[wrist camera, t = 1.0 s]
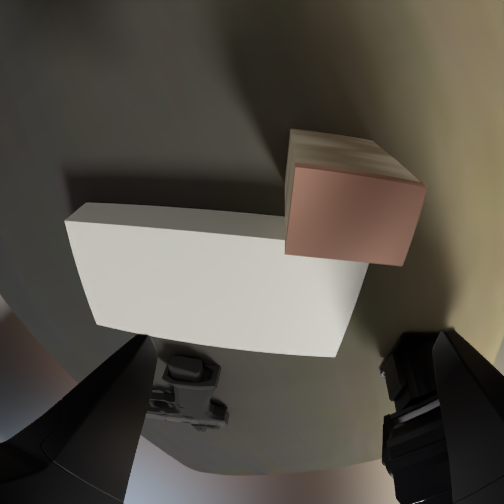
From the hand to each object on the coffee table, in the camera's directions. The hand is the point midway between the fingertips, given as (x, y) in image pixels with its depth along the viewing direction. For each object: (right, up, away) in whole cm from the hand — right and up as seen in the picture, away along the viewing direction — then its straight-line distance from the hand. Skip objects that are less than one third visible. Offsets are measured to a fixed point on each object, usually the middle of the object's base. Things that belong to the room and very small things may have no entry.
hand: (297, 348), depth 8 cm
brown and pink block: (+3, +8, +9) cm, 13 cm away
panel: (-4, +1, +14) cm, 15 cm away
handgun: (-14, -14, +26) cm, 32 cm away
